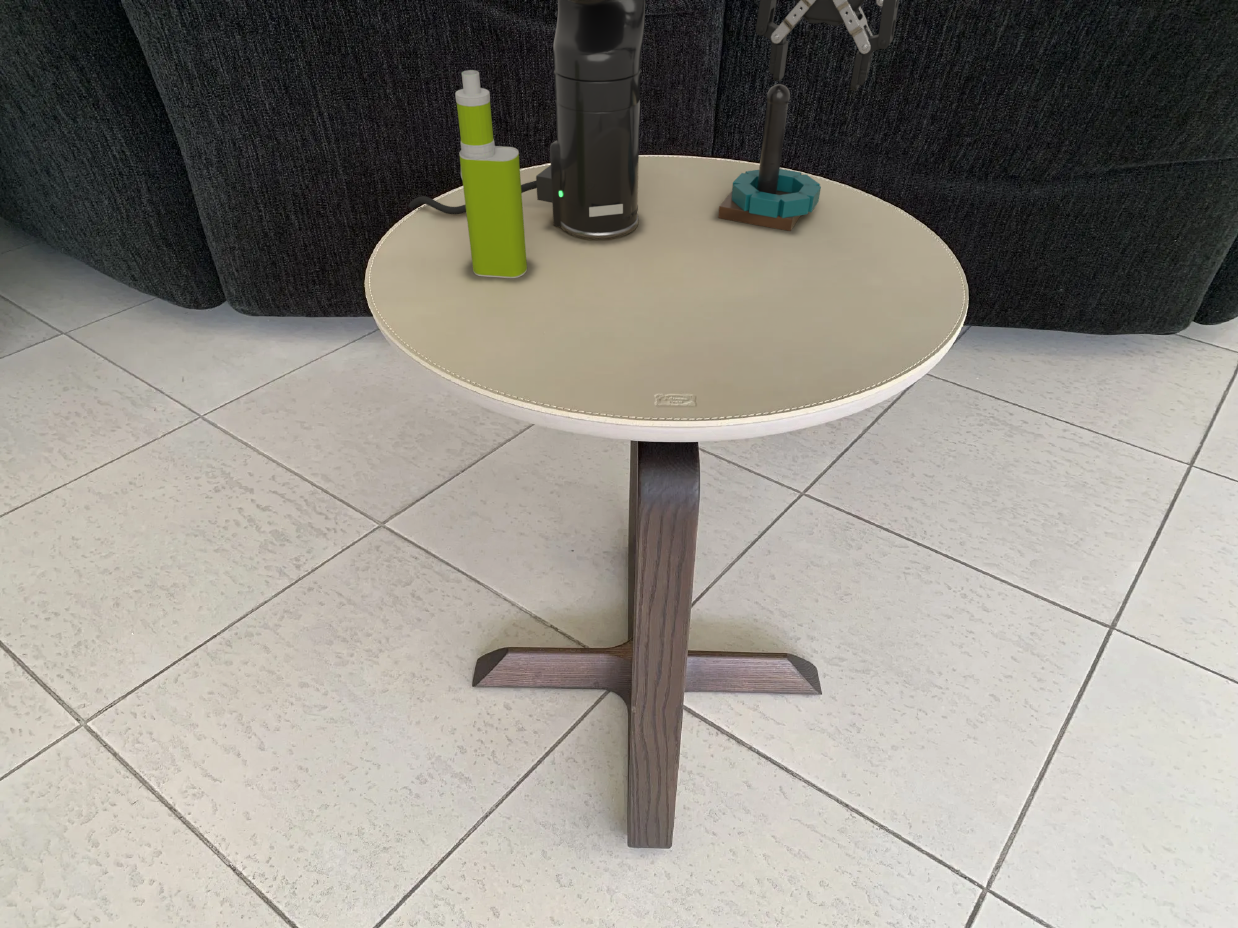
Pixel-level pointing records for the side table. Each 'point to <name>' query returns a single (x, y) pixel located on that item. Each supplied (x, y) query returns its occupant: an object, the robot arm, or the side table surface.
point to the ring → (773, 205)
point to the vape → (489, 187)
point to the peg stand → (767, 164)
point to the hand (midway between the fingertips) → (815, 83)
